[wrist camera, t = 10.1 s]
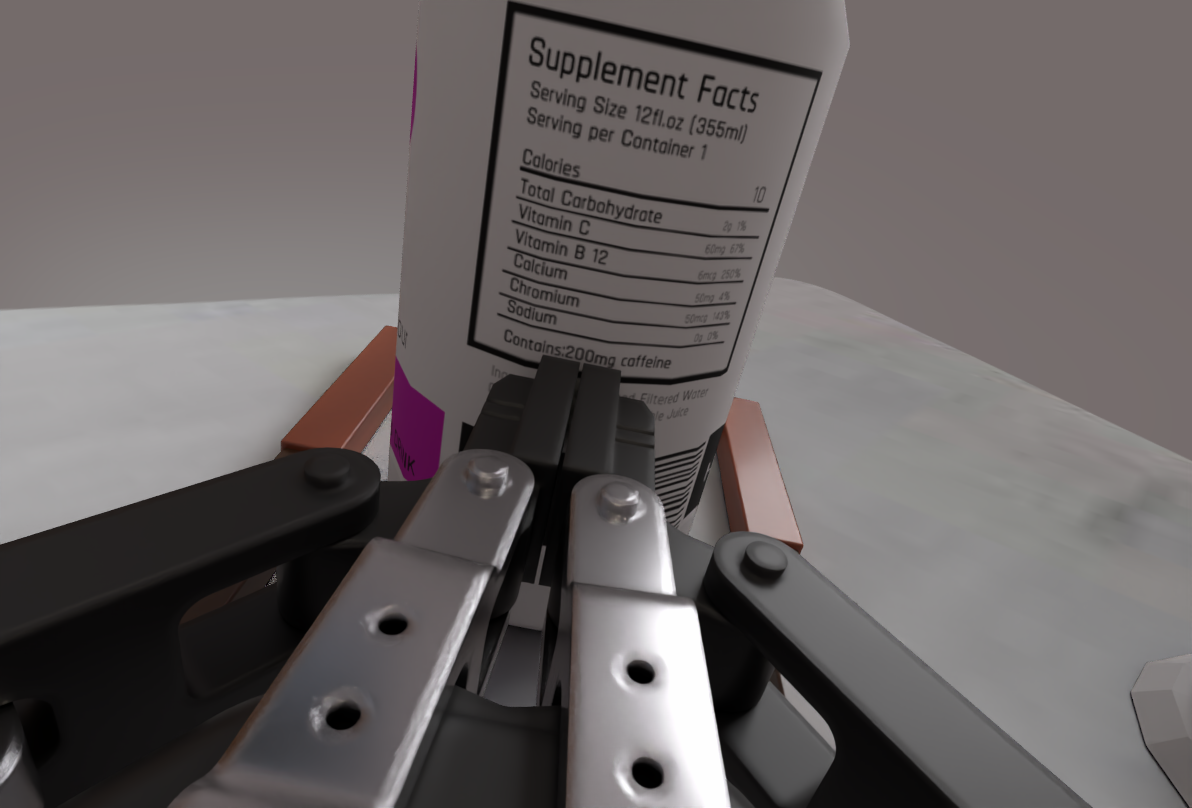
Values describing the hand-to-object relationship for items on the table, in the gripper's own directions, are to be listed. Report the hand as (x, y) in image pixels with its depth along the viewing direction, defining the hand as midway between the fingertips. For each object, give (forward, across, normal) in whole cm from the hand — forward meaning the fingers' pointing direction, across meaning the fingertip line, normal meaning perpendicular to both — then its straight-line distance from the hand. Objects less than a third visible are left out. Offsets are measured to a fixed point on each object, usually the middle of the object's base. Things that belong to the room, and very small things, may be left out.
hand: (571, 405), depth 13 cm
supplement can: (+4, 0, +7) cm, 8 cm away
